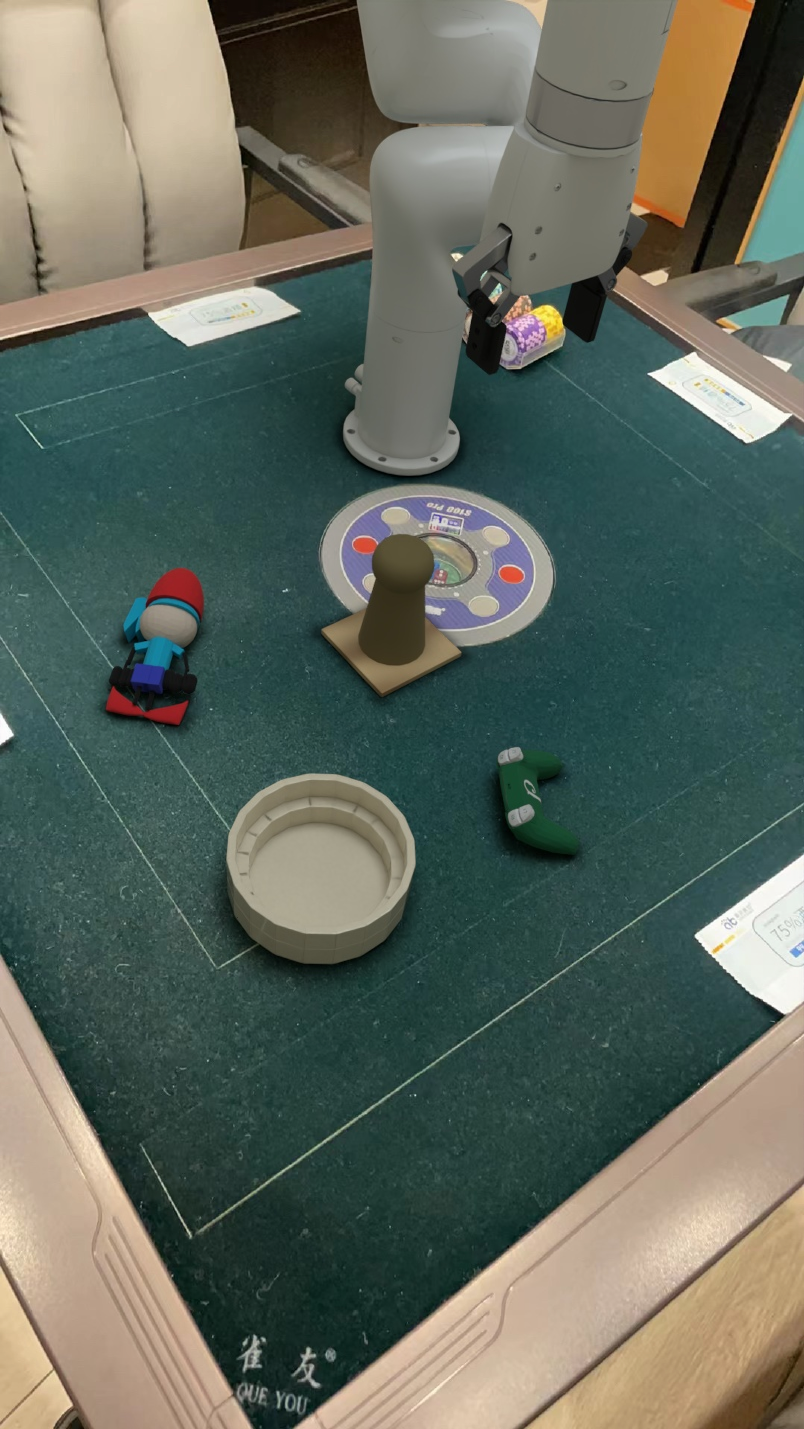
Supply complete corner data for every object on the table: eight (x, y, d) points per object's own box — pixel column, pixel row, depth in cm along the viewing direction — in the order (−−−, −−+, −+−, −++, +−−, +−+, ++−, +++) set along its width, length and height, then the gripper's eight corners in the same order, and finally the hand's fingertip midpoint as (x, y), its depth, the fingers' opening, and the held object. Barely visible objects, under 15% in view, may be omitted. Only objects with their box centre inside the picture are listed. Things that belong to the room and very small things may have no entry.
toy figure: (191, 736, 87) (228, 592, 94) (181, 706, 83) (221, 558, 90) (102, 726, 87) (146, 584, 95) (87, 695, 83) (135, 549, 91)
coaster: (320, 633, 94) (321, 629, 94) (399, 596, 98) (400, 592, 98) (381, 698, 90) (382, 693, 89) (460, 656, 94) (461, 652, 94)
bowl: (194, 865, 78) (191, 827, 74) (338, 784, 84) (342, 746, 80) (295, 1002, 72) (297, 969, 68) (443, 905, 78) (453, 870, 74)
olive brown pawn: (428, 621, 96) (445, 528, 87) (422, 670, 92) (439, 577, 83) (362, 612, 95) (373, 517, 87) (353, 660, 92) (364, 566, 83)
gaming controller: (526, 777, 88) (484, 746, 85) (564, 757, 87) (523, 725, 83) (544, 871, 83) (501, 843, 79) (585, 852, 81) (543, 823, 77)
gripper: (642, 67, 72) (581, 298, 85) (443, 103, 64) (410, 351, 78) (721, 112, 69) (644, 346, 82) (520, 156, 61) (471, 405, 74)
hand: (530, 348), depth 80 cm, fingers open, 9 cm apart
